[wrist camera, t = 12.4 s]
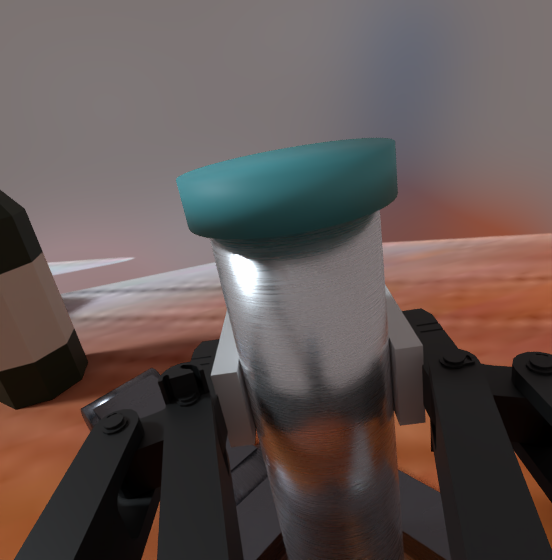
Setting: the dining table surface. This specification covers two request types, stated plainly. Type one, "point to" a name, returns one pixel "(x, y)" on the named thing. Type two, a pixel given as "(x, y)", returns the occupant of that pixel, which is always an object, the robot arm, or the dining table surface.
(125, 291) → the dining table surface
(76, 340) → the wine bottle
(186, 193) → the steel pin
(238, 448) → the chain ends
